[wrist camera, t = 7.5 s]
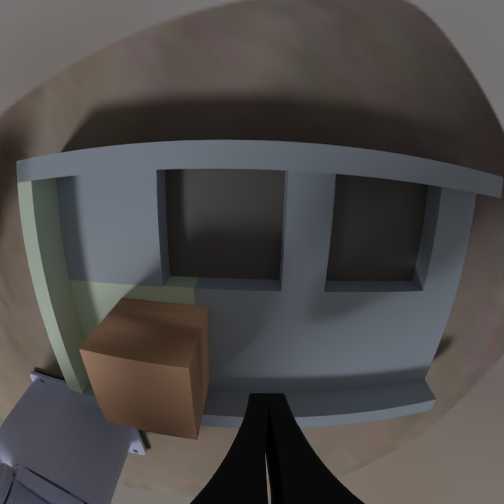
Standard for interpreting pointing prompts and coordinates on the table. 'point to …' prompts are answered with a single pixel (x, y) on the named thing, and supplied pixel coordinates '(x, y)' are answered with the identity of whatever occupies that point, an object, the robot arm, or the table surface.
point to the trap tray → (260, 263)
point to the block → (151, 366)
